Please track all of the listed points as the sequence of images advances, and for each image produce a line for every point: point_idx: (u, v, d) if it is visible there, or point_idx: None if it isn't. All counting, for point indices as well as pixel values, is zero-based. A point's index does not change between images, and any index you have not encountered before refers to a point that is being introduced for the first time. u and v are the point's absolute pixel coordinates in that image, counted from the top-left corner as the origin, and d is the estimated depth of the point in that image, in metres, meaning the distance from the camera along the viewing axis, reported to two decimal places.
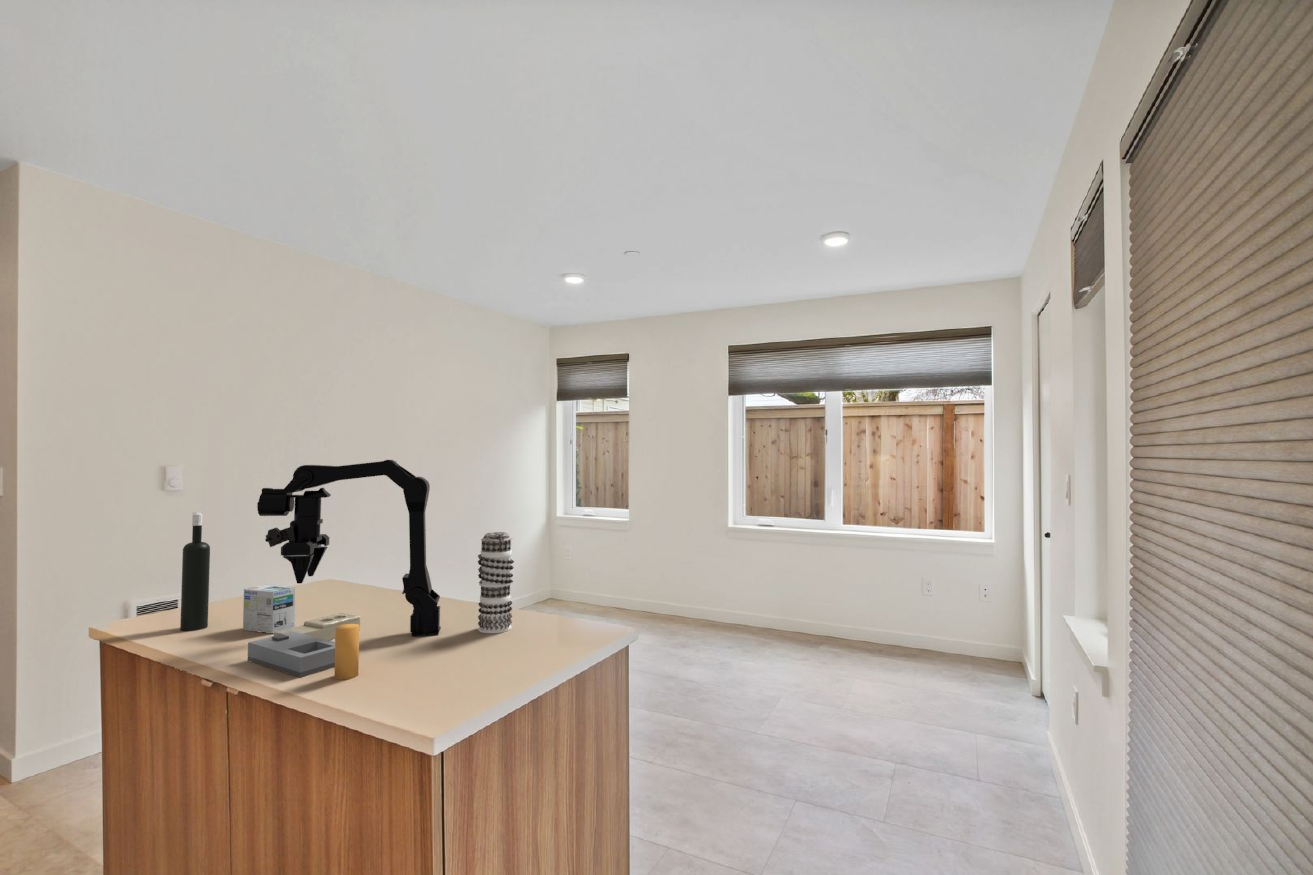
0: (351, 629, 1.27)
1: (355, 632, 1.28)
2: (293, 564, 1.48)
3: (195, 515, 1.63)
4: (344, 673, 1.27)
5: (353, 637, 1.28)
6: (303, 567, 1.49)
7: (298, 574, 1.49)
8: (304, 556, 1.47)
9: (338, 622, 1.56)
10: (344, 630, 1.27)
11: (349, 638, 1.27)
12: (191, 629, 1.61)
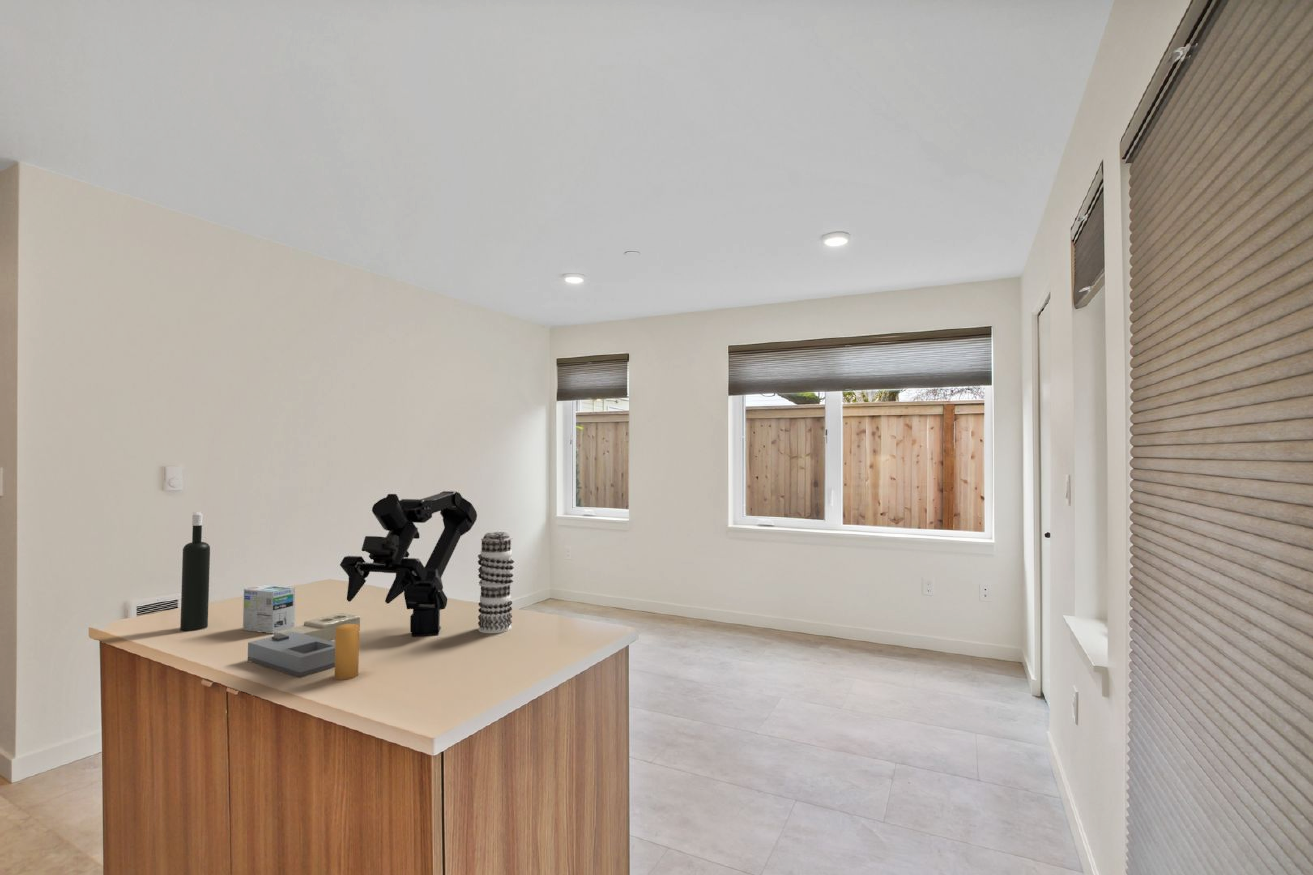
0: (351, 629, 1.27)
1: (355, 632, 1.28)
2: (400, 581, 1.38)
3: (195, 515, 1.63)
4: (344, 673, 1.27)
5: (353, 637, 1.28)
6: (401, 589, 1.39)
7: (393, 593, 1.37)
8: (416, 581, 1.41)
9: (338, 622, 1.56)
10: (344, 630, 1.27)
11: (349, 638, 1.27)
12: (191, 629, 1.61)
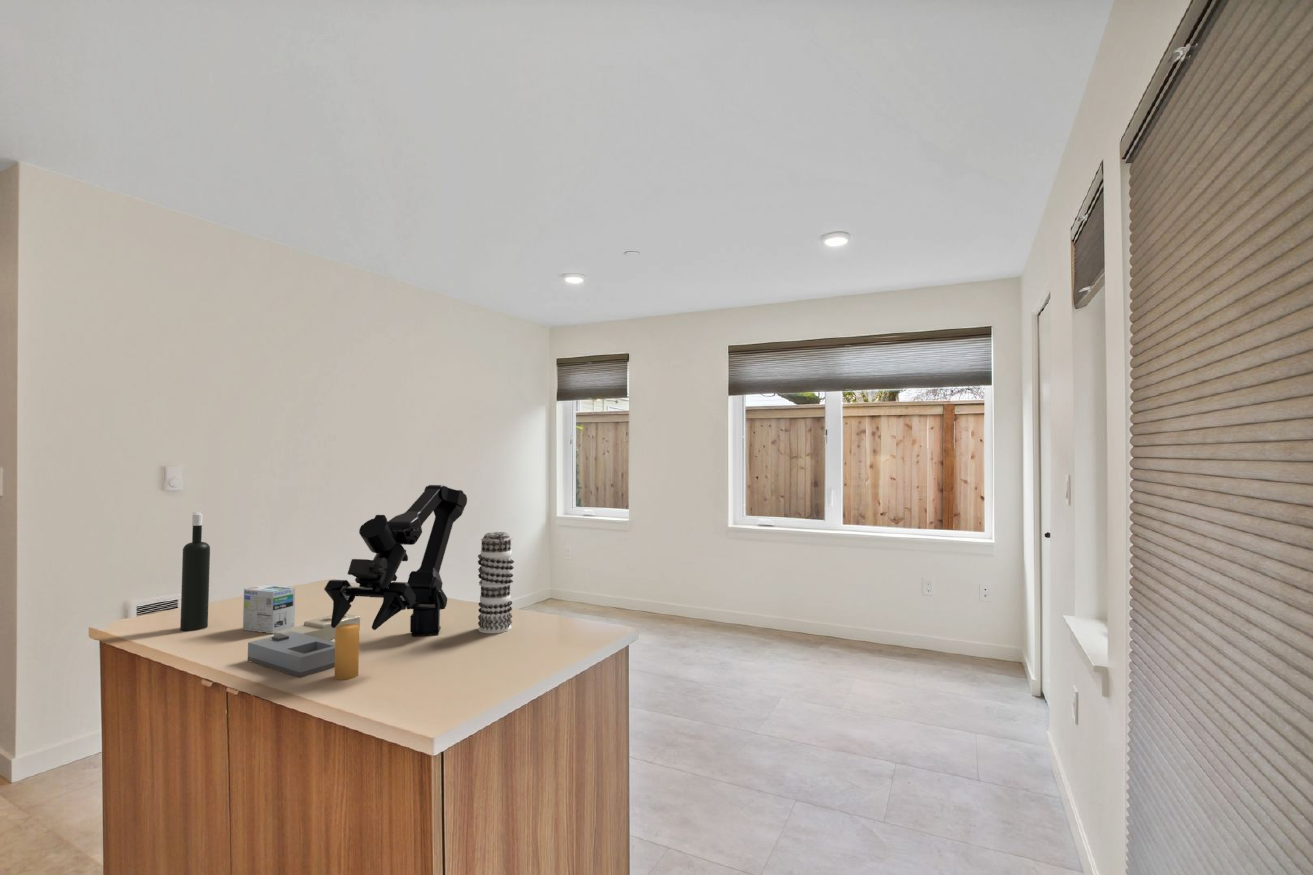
0: (351, 629, 1.27)
1: (355, 632, 1.28)
2: (388, 606, 1.32)
3: (195, 515, 1.63)
4: (344, 673, 1.27)
5: (353, 637, 1.28)
6: (388, 615, 1.33)
7: (380, 619, 1.31)
8: (404, 606, 1.36)
9: None
10: (344, 630, 1.27)
11: (349, 638, 1.27)
12: (191, 629, 1.61)
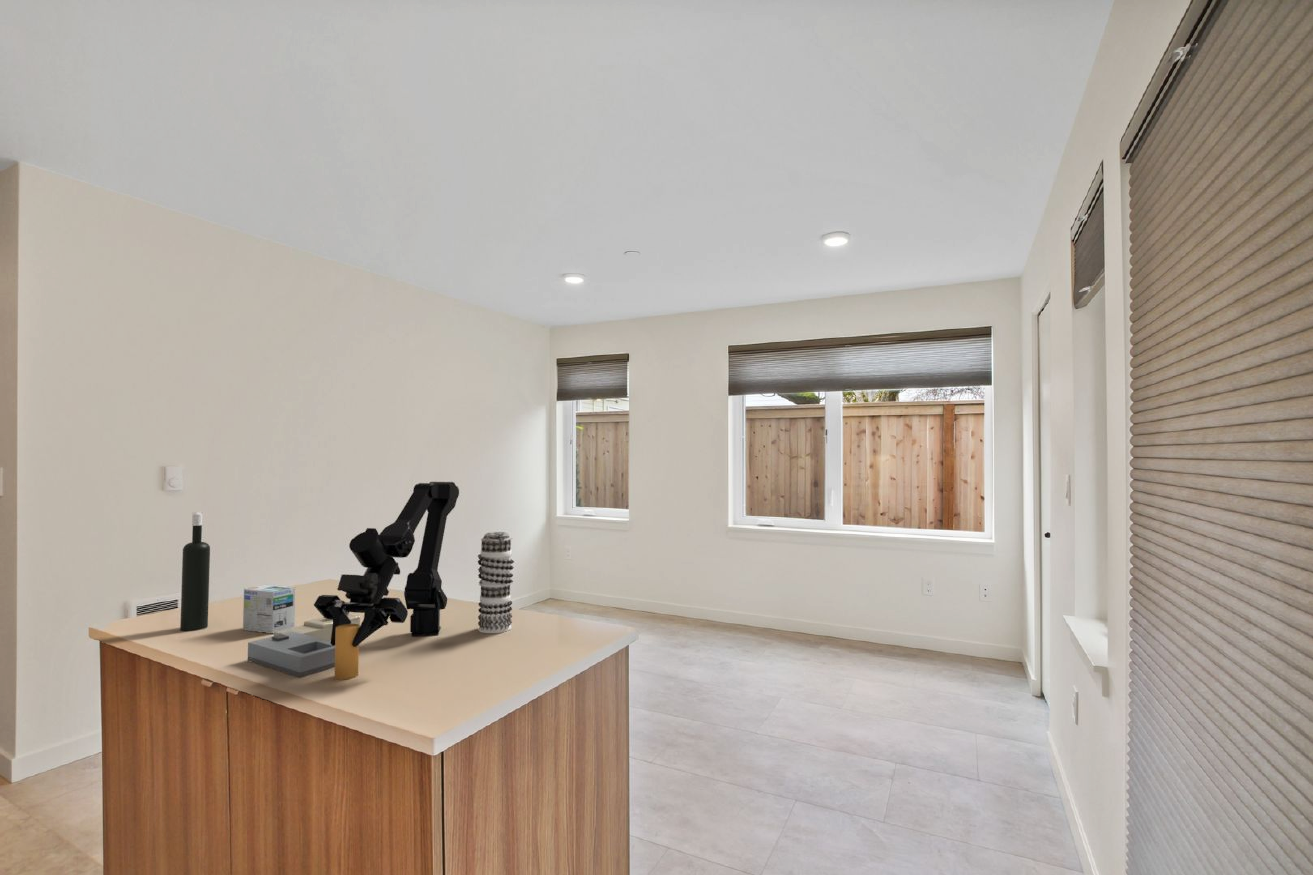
0: (351, 629, 1.27)
1: (355, 632, 1.28)
2: (369, 622, 1.30)
3: (195, 515, 1.63)
4: (344, 673, 1.27)
5: (353, 637, 1.28)
6: (370, 631, 1.30)
7: (361, 635, 1.28)
8: (386, 621, 1.33)
9: None
10: (344, 630, 1.27)
11: (349, 638, 1.27)
12: (191, 629, 1.61)
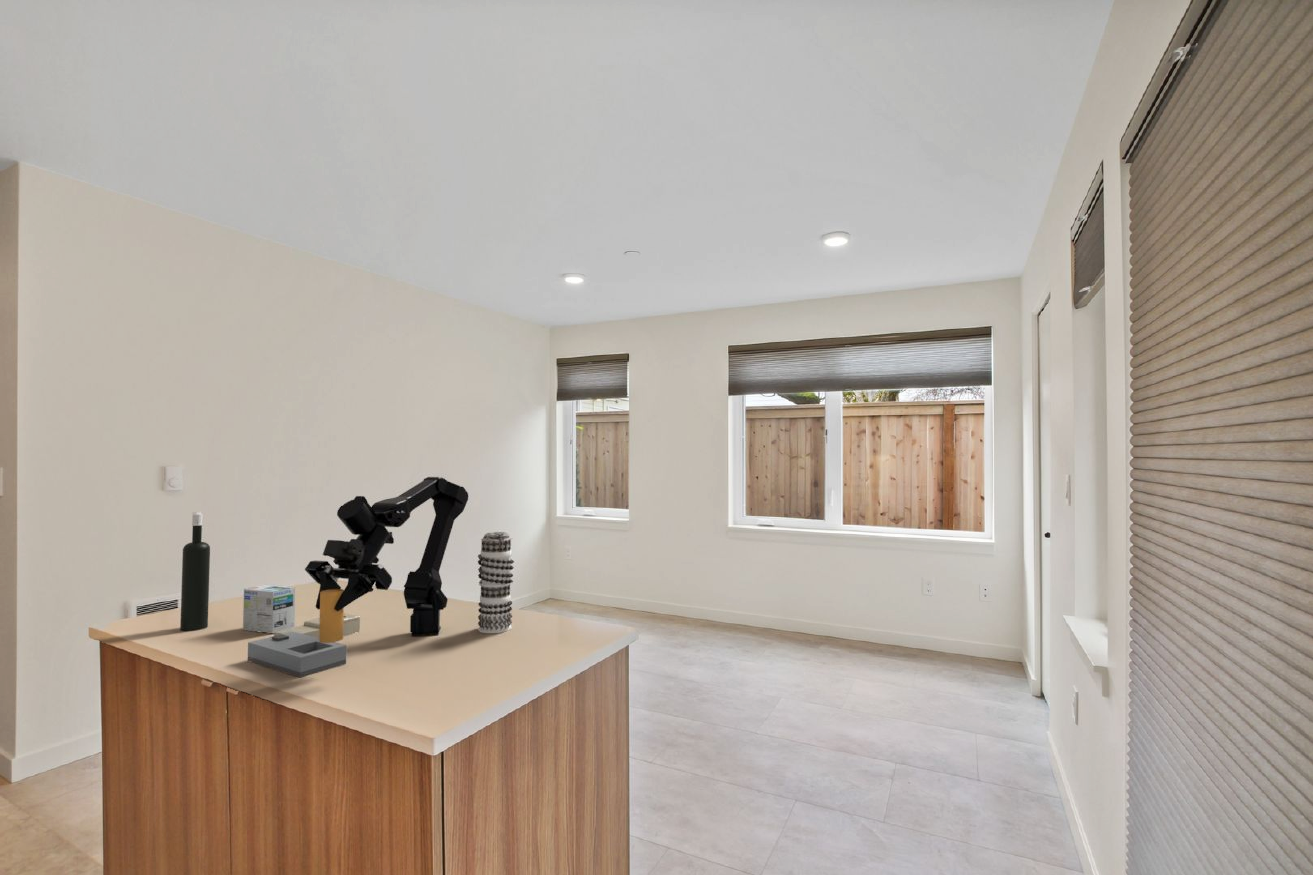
0: (334, 593, 1.29)
1: (338, 596, 1.30)
2: (352, 587, 1.31)
3: (195, 515, 1.63)
4: (326, 636, 1.28)
5: (336, 602, 1.29)
6: (354, 596, 1.32)
7: (344, 600, 1.30)
8: (371, 588, 1.34)
9: None
10: (327, 594, 1.29)
11: (331, 602, 1.29)
12: (191, 629, 1.61)
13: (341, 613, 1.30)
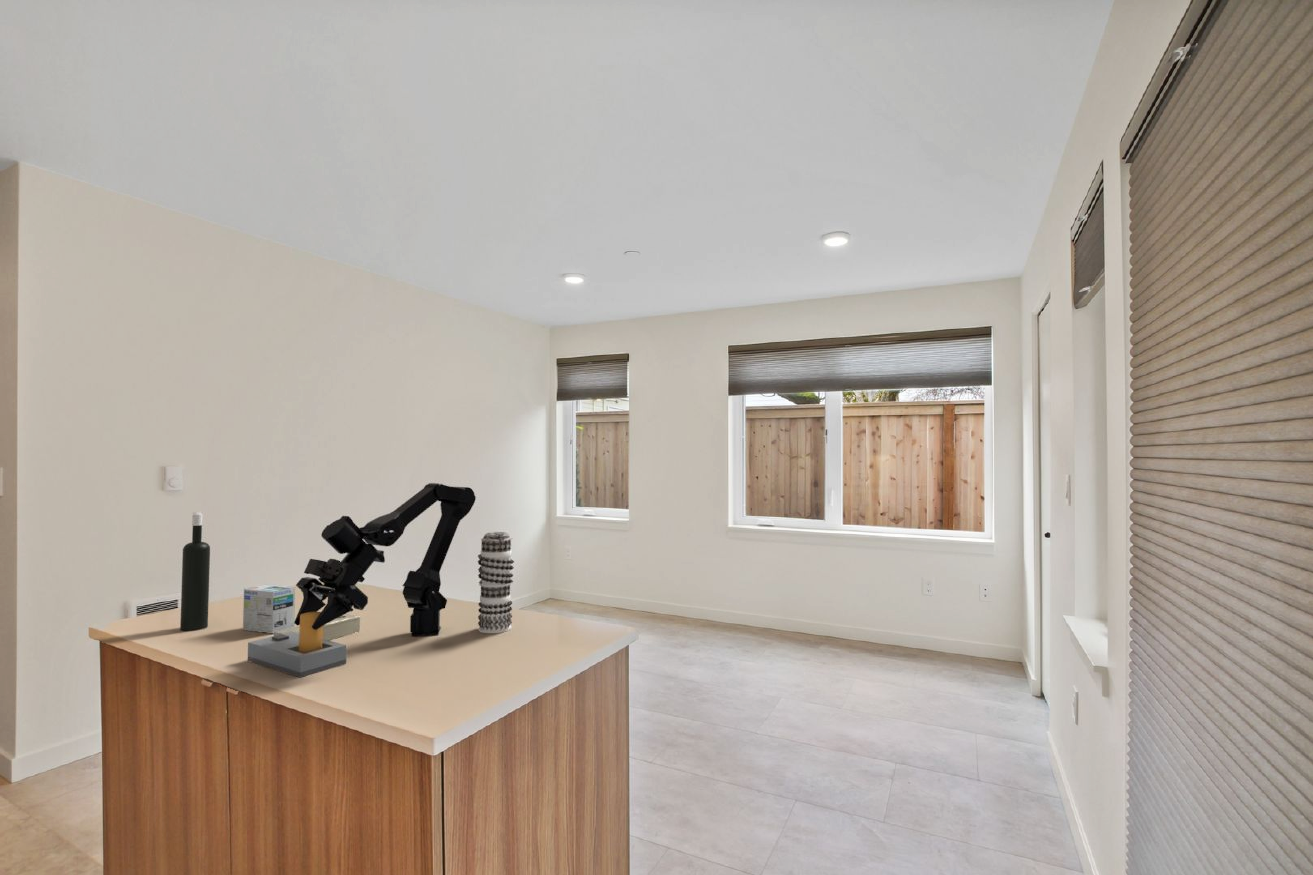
0: (310, 617, 1.33)
1: (314, 620, 1.33)
2: (330, 607, 1.33)
3: (195, 515, 1.63)
4: None
5: None
6: (333, 616, 1.34)
7: (322, 619, 1.33)
8: (350, 608, 1.35)
9: (338, 622, 1.56)
10: (304, 617, 1.32)
11: (308, 626, 1.32)
12: (191, 629, 1.61)
13: (318, 636, 1.34)
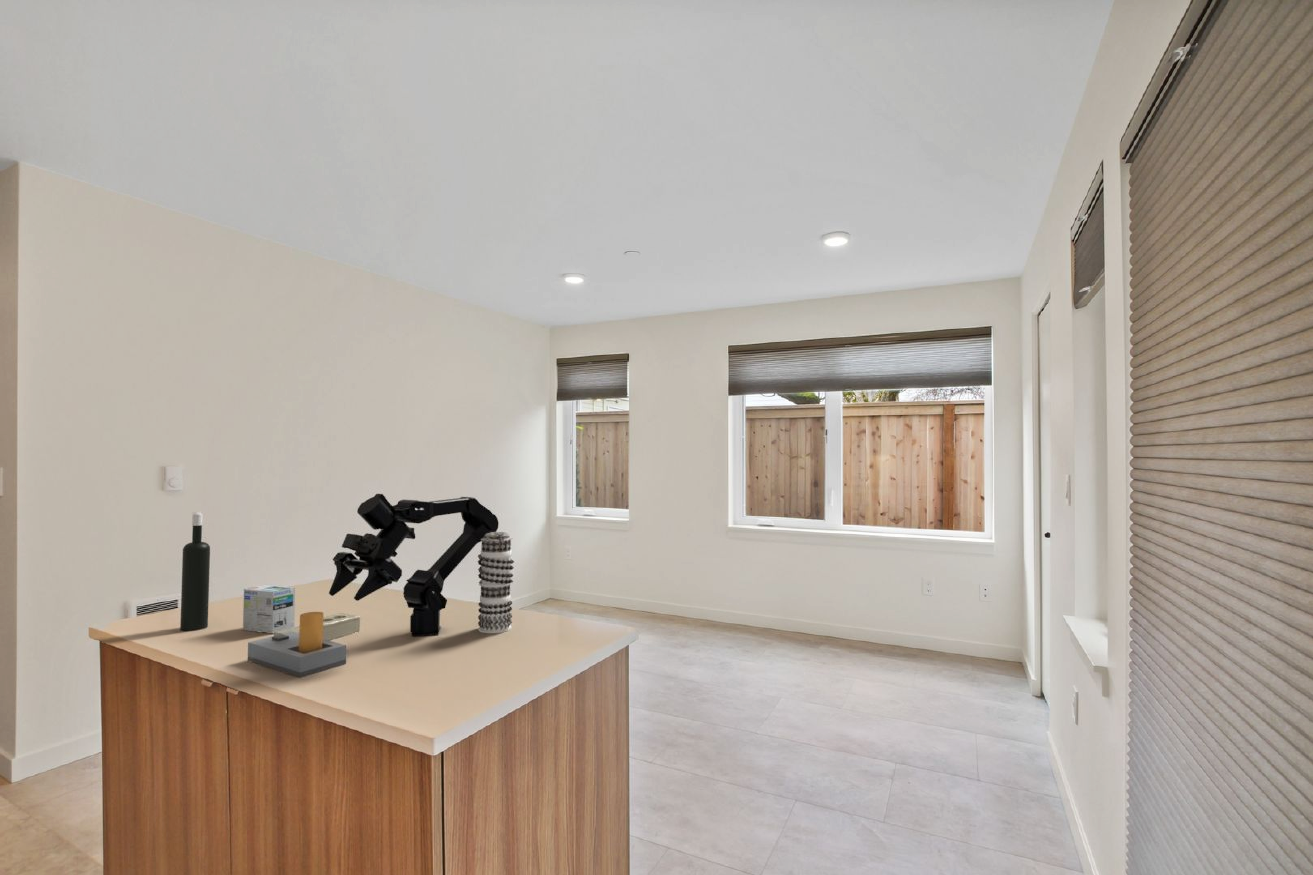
0: (310, 617, 1.33)
1: (314, 620, 1.33)
2: (371, 579, 1.40)
3: (195, 515, 1.63)
4: None
5: (312, 625, 1.33)
6: (373, 588, 1.41)
7: (363, 591, 1.40)
8: (389, 580, 1.42)
9: (338, 622, 1.56)
10: (304, 617, 1.33)
11: (308, 626, 1.33)
12: (191, 629, 1.61)
13: (318, 636, 1.34)
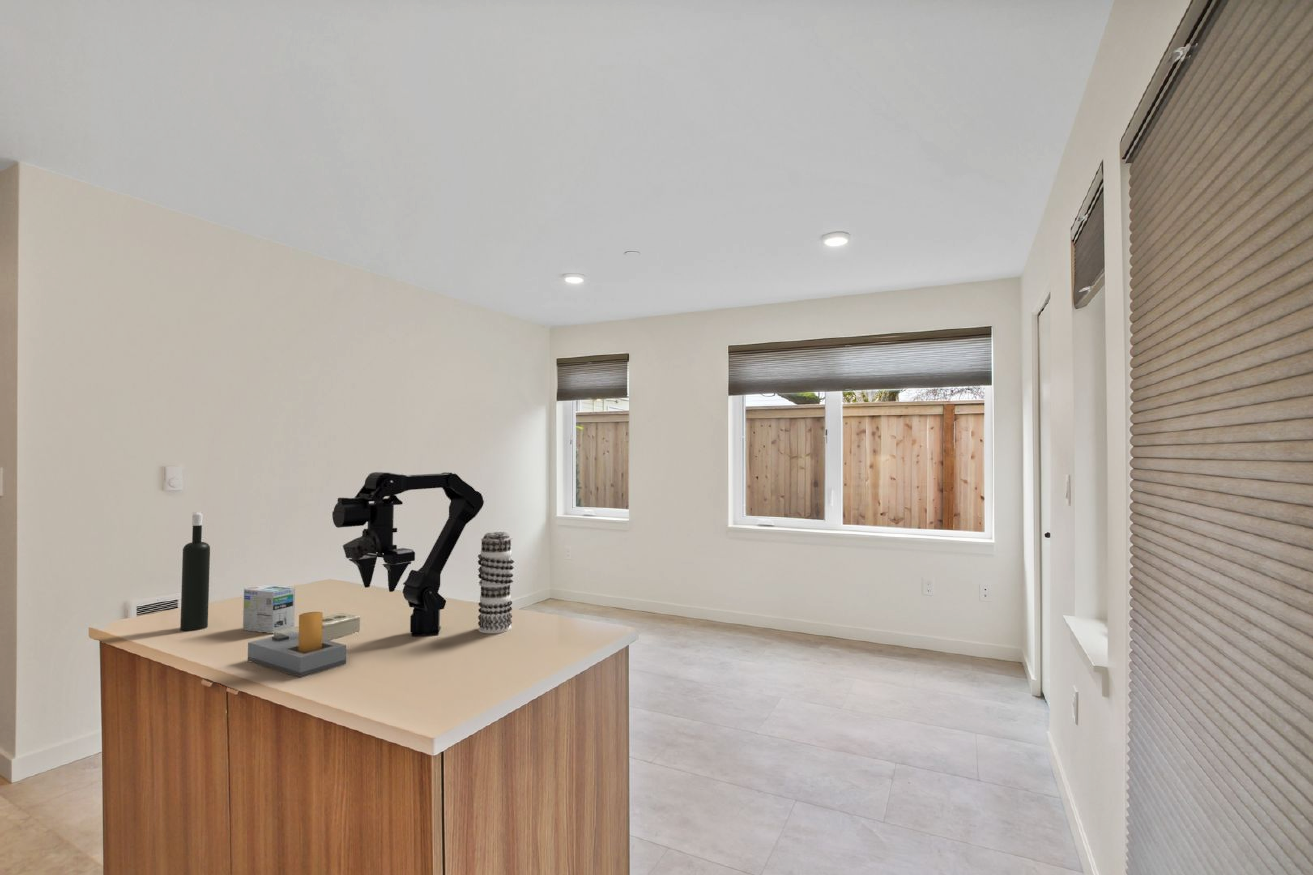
0: (309, 617, 1.33)
1: (313, 620, 1.33)
2: (392, 572, 1.47)
3: (195, 515, 1.63)
4: None
5: (311, 625, 1.33)
6: (399, 574, 1.49)
7: (393, 582, 1.48)
8: (408, 563, 1.49)
9: (338, 622, 1.56)
10: (303, 617, 1.33)
11: (307, 626, 1.32)
12: (191, 629, 1.61)
13: (317, 636, 1.34)
